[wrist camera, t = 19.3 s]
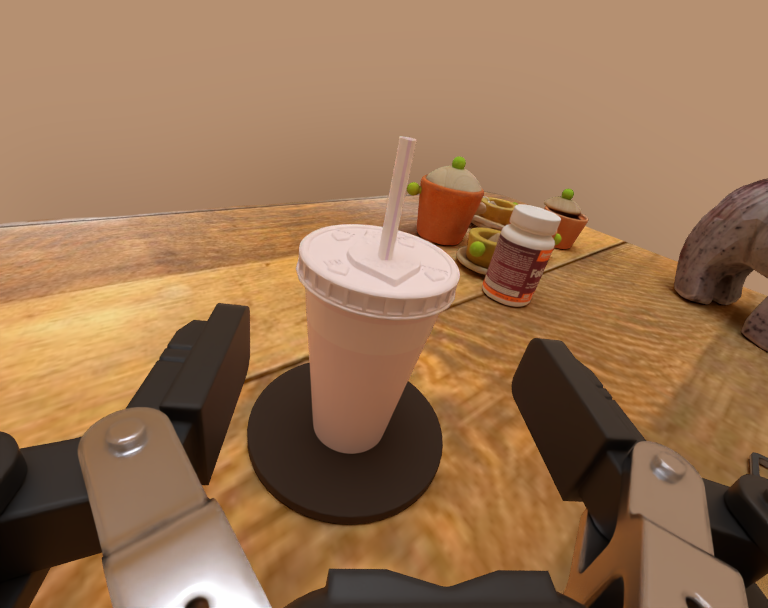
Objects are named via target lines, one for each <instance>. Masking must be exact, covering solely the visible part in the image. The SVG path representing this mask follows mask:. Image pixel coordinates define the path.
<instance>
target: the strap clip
mask: <svg viewBox="0 0 768 608" xmlns="http://www.w3.org/2000/svg"><path fill="white" fill-rule="evenodd" d="M759 463H760V464H762V465H763V466H765V467H767V468H768V458H767V457H765V456H763V455H760V454H758V453H752V454H751V455H750V474H752V475H757V476H760V474H759Z"/></svg>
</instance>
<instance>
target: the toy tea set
mask: <svg viewBox="0 0 768 608" xmlns="http://www.w3.org/2000/svg"><path fill="white" fill-rule="evenodd" d="M465 164H466V162H465V159H464V158H463V157H456V158H455V159H454V160H453V163H452V166H445V167H441V168H439V169H437V170H435V171H433V172H431V173H430V174H428V175H425V176H423V177H422V179H421V186H419V185H418V184H417V183H415V182H412V183H410V184H409V185H408V186H407V192H408V193H409V194H410V195H412V196H414V195H417V194H420V196H419V208H418V220H417V232H418V234H419V235H420V236H421V237H422V238H424V239H426V240H428V241H430V242H433V243H436V244H441V245H456V244H459V243H460V242H461V241H462V240H463V238H464V236H465V233H466V231H467V229H468V227H469V225H470V223H471V222H472V223H473V224H474V225H476V226H477V228H472V229H471V230H470V231H469V238H468V244H467V246H464V247H461V248H459V249H458V250H457V253H456V257H457V259H458V260H459V261H460V262H461V263H462V264H463V265H464V266H466V267H467V268H469V269H471V270H473V271H475V272H478V273H480V274H484V275H486V273H487V270H488V267H489V265H490V261H491V259H492V256H493V253H494V251H495V248H496V245H497V242H498V239H499V236H500V233H501V231H502V229H503V227H505V226H506V225H508V224H511V223H510V217H511V215H512V212H513V210H514V207H515V206H516V205H519V204H517V203H515V202H514V203H511V202H509V201H506V200H503V199H499V198H492V197H485V196H484V191H483V189H482V188H481V186H480V184H479V182H478V180H477V179H476V178H475V176H474V175H473V174H472V173H470V172H469V171H468V170H466V169H464V167H465ZM573 195H574V192H573V190H571V189H565V190H564V191H563V192H562V197H552V198H549V199H547V200H545V201H544V204H545V205H546V207H545V210H547V211H550V212H552V213H555V214H556V215H558V216H559V217H560V218H561V221H560V224H559V226H558V229H557V231H556V232H555V234H554V235H552V238H553V239H554V241H555V246H554V248H559V249H568V248H570V247H571V246H572V245H573V243H574V242H575V240H576V239H577V237H578V236H579V234H580V233H581V231H582V230H583V228H584V227H585V225H586V223H587V222H588V220H589V219H588V217H586V216H585V215H583V214H581V210H580V208H579V206H578V205H577V204H576V203H575V202H574V201H573V200H571V199H572V198H573Z"/></svg>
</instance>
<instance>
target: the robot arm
mask: <svg viewBox="0 0 768 608" xmlns="http://www.w3.org/2000/svg"><path fill="white" fill-rule="evenodd" d="M249 359H250V310H249V307H248V306H241V305H232V304H223V303H218V304H217V305H216V307H215V309H214V310H213V312H212V314H211V316H210V317H209V319H208V321H200V320H193V321H191V322H190V323H188V324H187V325H185V326H184V327H182V328H181V329H179V330H178V331H177V332H176V333H175V335H174V336H173V338H172V339H171V341H170V342H169V344H168V347H167V348H166V349H165V350H164V352H163V353H162V355H161V356H160V359H159V361H157V362H156V364H155V365H154V367H153V368H152V370H151V371H150V373H149V374H148V376H147V377H146V379H145V380H144V382H143V383H142V385H141V386H140V388H139V389H138V391H137V392H136V394H135V395H134V397H133V398H132V400H131V401H130V403H129V404H128V406H127V407H126V409H124V410H120V411H117V412H114V413H112V414H110V415H108V416H106V417H104V418H102V419H100V420H99V421H97V422H96V423H95V424H94V425H92V426H91V427H90V428H89V429H88V430H87V431H86V432H85V434H84V435H83V436H82V437H79V438H75V439H70V440H65V441H60V442H54V443H49V444H43V445H38V446H32V447H27V448H21V449H19V446H18V444H17V442H16V441H15V439H14V438H13V437H12V436H11V435H9V434H7V433H4V432H0V608H29V607H30V605H31V603H32V601H33V599H34V597H35V595H36V594H37V592H38V590H39V588H40V586H41V584H42V582H43V581H44V579H45V577H46V575H47V573H48V571H49V570H50V568H51V567H54V566H57V565H61V564H64V563H68V562H71V561H74V560H78V559H81V558H85V557H88V556H92V555H95V554H99V553H103V557H102V563H103V569H104V573H105V577H106V582H107V586H108V590H109V594H110V598H111V602H112V606H113V608H272V607H271V605H270V603H269V601H268V599H267V597H266V595H265V593H264V591H263V589H262V587H261V585H260V583H259V581H258V579H257V577H256V575H255V573H254V571H253V569H252V567H251V565H250V563H249V561H248V559H247V557H246V555H245V554H244V552H243V550H242V548H241V546H240V544H239V542H238V540H237V538H236V536H235V534H234V532H233V530H232V528H231V526H230V524H229V522H228V520H227V518H226V516H225V514H224V512H223V510H222V508H221V507H220V505H219V503H218V502H217V501H216V500H215V499H214V498H212V499H209V498H208V497H207V495H206V493H205V491H204V489H203V487H202V485H209V482H210V479H211V476H212V474H213V471H214V468H215V465H216V462H217V459H218V456H219V453H220V450H221V447H222V444H223V442H224V439H225V436H226V433H227V430H228V427H229V424H230V421H231V418H232V415H233V413H234V410H235V407H236V404H237V401H238V398H239V395H240V392H241V389H242V386H243V384H244V381H245V378H246V375H247V371H248V366H249ZM512 394H513V398H514V400H515V402H516V404H517V406H518V408H519V410H520V412H521V415H522V417H523V419H524V421H525V423H526V425H527V427H528V429H529V431H530V433H531V435H532V437H533V439H534V442H535V444H536V446H537V448H538V450H539V452H540V454H541V456H542V458H543V460H544V462H545V464H546V466H547V468H548V471H549V473H550V475H551V477H552V479H553V481H554V483H555V485H556V487H557V489H558V491H559V493H560V495H561V498H562V500H563V501H578V502H584V504H585V506H586V509H585V511H584V512H583V513H582V515H581V518H580V523H579V528H578V533H577V538H576V544H575V549H574V554H573V559H572V564H571V570H570V575H569V579H568V583H567V586H566V588H565V591H564V593H563V594H561V593H559V592H556V590H555V588H554V585H553V582H552V580H551V577H550V575H549V572H548V571H503V570H498V571H495V572H492V573H489V574H486V575H483V576H480V577H477V578H474V579H471V580H468V581H465V582H462V583H459V584H456V585H454V586H450V587H443V586H439V585H436V584H433V583H429V582H426V581H423V580H419V579H416V578H413V577H410V576H406V575H403V574H400V573H397V572H393V571H390V570H387V569H329V572H328V577H327V581H326V586H325V587H324V588H321V589H318V590H315V591H312V592H310V593H308V594H306V595H304V596H302V597H299V598H298V599H296V600H294V601H293V602H291V603H290V604H288V605H287V606H285V607H284V608H768V599H767V598H766V597H765V595H764V594H763V592H762V591H761V590H760V588H759V587H758V586H757V584H756V583H755V582H757V581H758V580H759V579H761V578H762V577H764V576H765V575H766V574H768V479H766V478H763V477H760V476H757V475H752V474H746V475H743V476H741V477H740V478H739V479H738V480H737V481H736V482H735V483H734V484H733V485H732V486H731V487H728V486H725V485H722V484H719V483H716V482H713V481H710V480H707V479H704V478H701V476H700V475H699V473H698V472H697V470H696V469H695V468H694V467H693V466H692V465H691V464H690V463H689V462H688V461H687V460H686V459H685V458H683V457H682V456H681V455H679V454H678V453H676V452H675V451H673V450H671V449H670V448H668V447H666V446H663V445H661V444H658V443H655V442H651V441H646V440H645V439H644V437H643V436H642V435H641V433H640V432H639V431H638V430H637V428H636V427H635V426H634V424H633V423H632V422H631V421H630V419H629V418H628V417H627V415H626V414H625V413H624V412H623V410H622V409H621V408H620V407H619V405H618V404H617V403H616V401H615V400H612V396H611V395H610V394H609V392H608V391H607V390H606V389H605V388H603V385H602V383H601V382H600V381H599V380H598V378H597V377H596V376H595V374H594V373H593V372H592V371H591V370H589V369H588V368H587V367H586V366H584V365H583V364H582V363H581V362H579V361H578V360H577V359H576V358H575V357H574V356H573V354H572V353H571V352H570V350H569V349H568V348H567V346H566V345H565V344H564V343H563V342H562V341H559V340H550V339H540V338H534V339H532V340H531V341H530V343H529V344H528V347H527V349H526V351H525V353H524V355H523V357H522V359H521V362H520V364H519V366H518V368H517V370H516V372H515V375H514V377H513V380H512Z"/></svg>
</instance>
